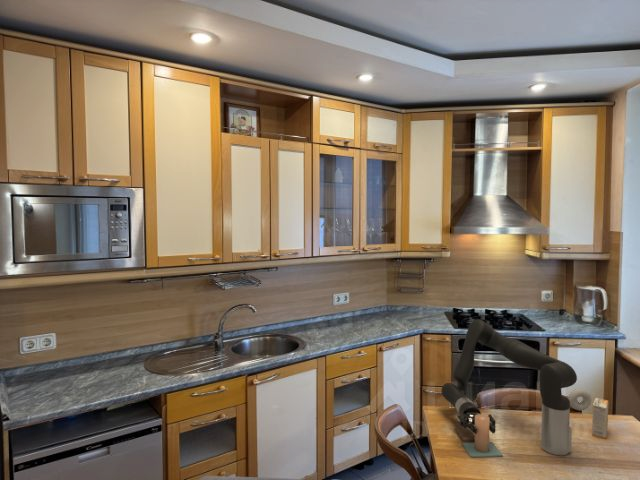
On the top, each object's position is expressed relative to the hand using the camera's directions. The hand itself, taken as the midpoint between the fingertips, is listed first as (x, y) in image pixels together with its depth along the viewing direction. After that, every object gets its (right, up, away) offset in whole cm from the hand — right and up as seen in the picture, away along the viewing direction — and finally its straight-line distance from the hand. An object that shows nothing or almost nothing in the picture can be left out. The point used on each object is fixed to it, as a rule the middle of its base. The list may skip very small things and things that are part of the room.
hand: (484, 431), depth 157 cm
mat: (0, -9, +3) cm, 9 cm away
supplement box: (+53, -8, +14) cm, 55 cm away
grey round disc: (+57, -6, +35) cm, 67 cm away
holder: (0, -8, +13) cm, 16 cm away
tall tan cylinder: (0, -8, +3) cm, 8 cm away
